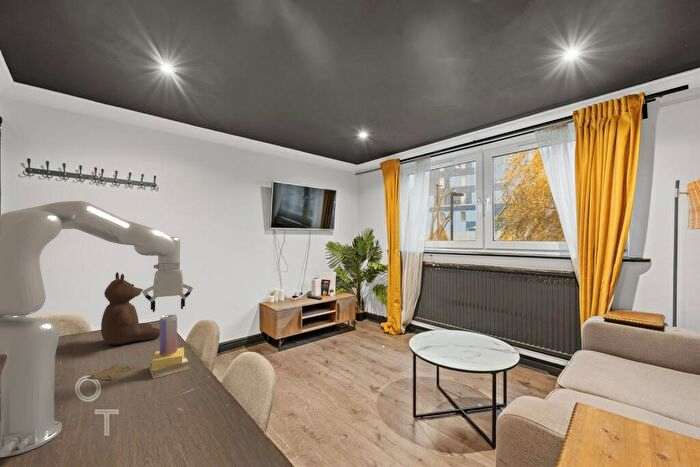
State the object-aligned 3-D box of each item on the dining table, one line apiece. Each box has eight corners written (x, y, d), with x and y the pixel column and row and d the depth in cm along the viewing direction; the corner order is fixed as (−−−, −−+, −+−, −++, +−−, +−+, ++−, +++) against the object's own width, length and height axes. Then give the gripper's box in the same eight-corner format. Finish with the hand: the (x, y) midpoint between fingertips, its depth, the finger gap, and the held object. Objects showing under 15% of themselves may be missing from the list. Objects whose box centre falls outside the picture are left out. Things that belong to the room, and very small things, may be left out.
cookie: (113, 382, 109) (113, 379, 109) (86, 379, 111) (86, 376, 111) (141, 368, 120) (141, 365, 121) (116, 365, 123) (116, 363, 123)
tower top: (182, 363, 117) (182, 355, 117) (151, 368, 112) (151, 360, 112) (183, 354, 126) (183, 347, 126) (155, 358, 121) (156, 351, 121)
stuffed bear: (166, 341, 151) (167, 272, 151) (109, 354, 133) (111, 276, 134) (147, 329, 169) (148, 268, 170) (95, 339, 152) (97, 271, 153)
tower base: (188, 369, 118) (188, 361, 118) (153, 378, 111) (153, 370, 111) (182, 359, 127) (182, 352, 127) (148, 367, 120) (148, 360, 120)
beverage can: (157, 357, 115) (157, 319, 115) (162, 351, 121) (162, 315, 121) (174, 355, 117) (174, 317, 117) (178, 350, 123) (178, 314, 123)
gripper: (142, 269, 112) (141, 314, 111) (193, 267, 121) (193, 309, 120) (143, 267, 118) (142, 310, 118) (192, 265, 127) (192, 305, 126)
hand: (168, 309), depth 119 cm, fingers open, 9 cm apart
